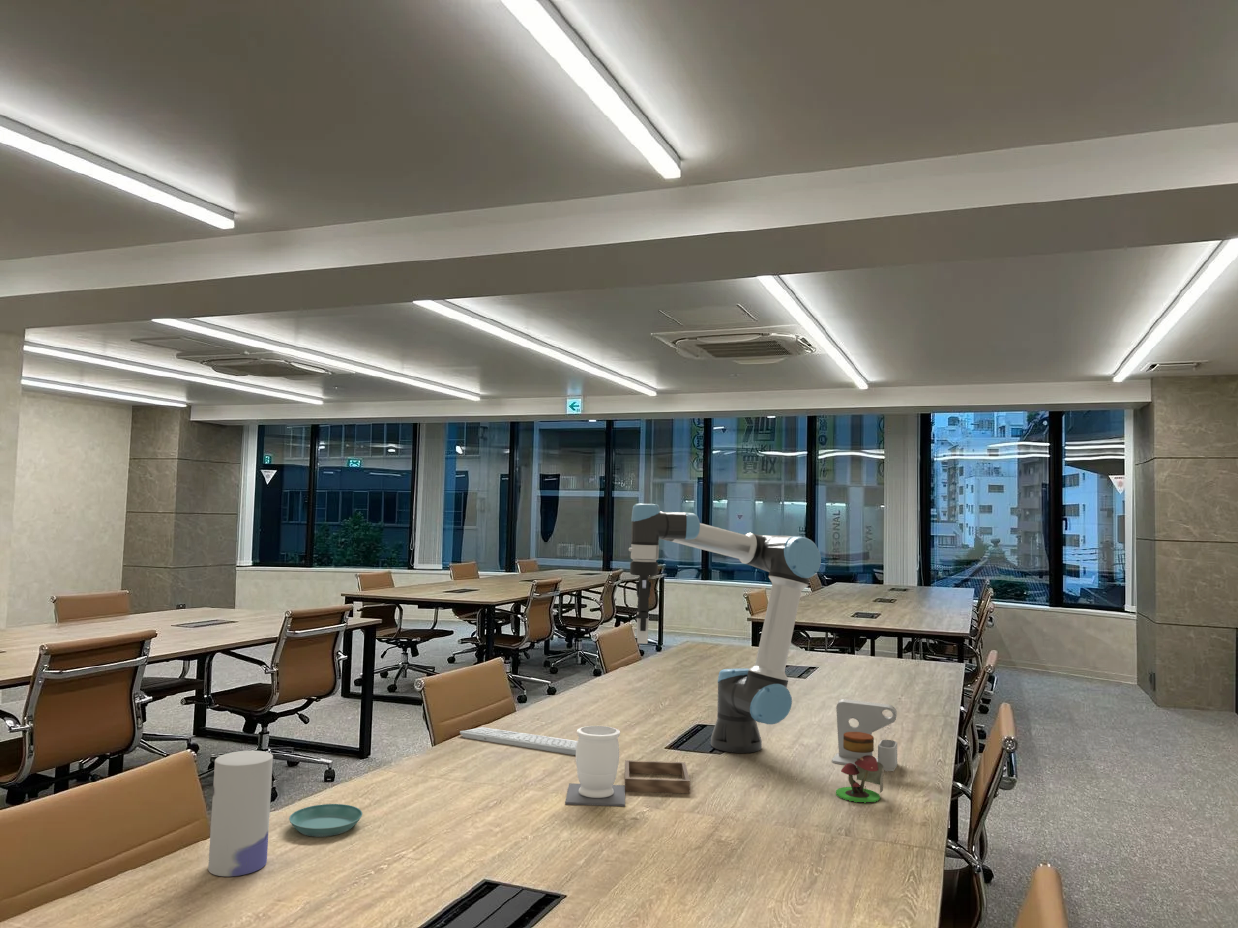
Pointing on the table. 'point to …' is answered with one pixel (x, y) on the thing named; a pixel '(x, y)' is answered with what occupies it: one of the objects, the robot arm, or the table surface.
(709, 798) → the table surface
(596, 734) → the jar
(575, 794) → the felt pad
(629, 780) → the holder frame
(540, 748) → the keyboard
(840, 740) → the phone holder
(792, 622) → the robot arm
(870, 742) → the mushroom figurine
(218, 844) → the container
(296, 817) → the saucer
